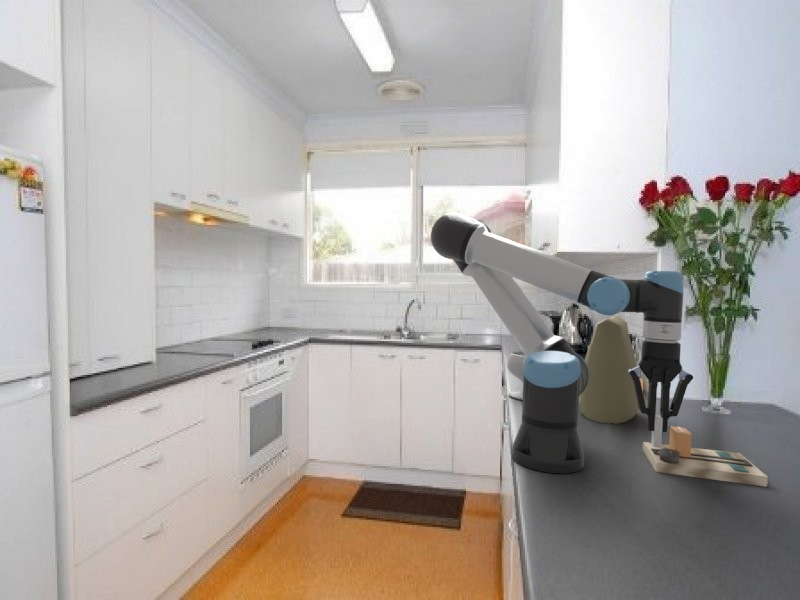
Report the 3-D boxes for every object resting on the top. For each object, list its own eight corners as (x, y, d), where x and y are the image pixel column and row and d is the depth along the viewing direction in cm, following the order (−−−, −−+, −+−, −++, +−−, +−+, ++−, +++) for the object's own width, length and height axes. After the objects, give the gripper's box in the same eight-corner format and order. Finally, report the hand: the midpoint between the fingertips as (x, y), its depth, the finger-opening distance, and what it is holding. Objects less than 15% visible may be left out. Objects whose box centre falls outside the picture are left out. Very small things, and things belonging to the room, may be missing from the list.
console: (655, 471, 101) (657, 452, 101) (642, 450, 115) (643, 432, 115) (767, 486, 96) (768, 466, 96) (739, 461, 109) (740, 443, 109)
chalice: (548, 395, 169) (550, 352, 168) (547, 404, 156) (550, 358, 155) (507, 391, 173) (509, 349, 173) (504, 399, 160) (506, 354, 159)
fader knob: (674, 455, 104) (676, 431, 104) (669, 447, 109) (670, 425, 109) (690, 457, 104) (691, 433, 103) (683, 449, 108) (685, 427, 108)
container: (585, 401, 161) (590, 312, 160) (641, 410, 153) (647, 316, 151) (570, 417, 141) (575, 315, 140) (633, 429, 132) (639, 320, 131)
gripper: (632, 340, 105) (627, 447, 106) (699, 344, 101) (694, 454, 102) (626, 337, 112) (621, 437, 113) (689, 340, 108) (684, 443, 109)
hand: (656, 445), depth 108 cm, fingers closed
